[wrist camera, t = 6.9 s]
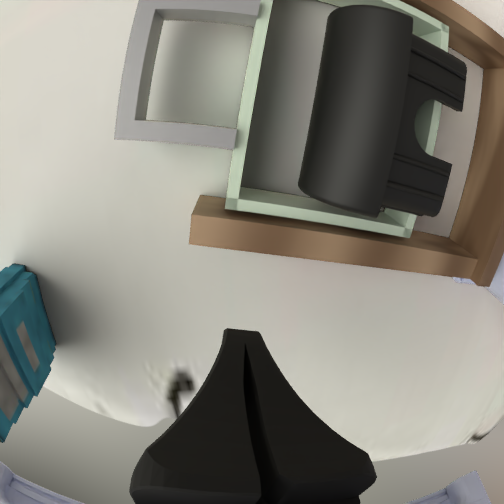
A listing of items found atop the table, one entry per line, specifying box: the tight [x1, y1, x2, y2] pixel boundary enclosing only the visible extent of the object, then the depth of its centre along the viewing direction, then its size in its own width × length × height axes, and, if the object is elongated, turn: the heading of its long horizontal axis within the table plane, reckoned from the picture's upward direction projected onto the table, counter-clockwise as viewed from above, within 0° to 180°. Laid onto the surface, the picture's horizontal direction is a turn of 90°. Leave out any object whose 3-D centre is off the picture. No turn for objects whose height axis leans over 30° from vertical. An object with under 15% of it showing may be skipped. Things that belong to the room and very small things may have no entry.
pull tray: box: [114, 0, 449, 238], centre depth 14 cm, size 17×14×4 cm
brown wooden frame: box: [189, 0, 504, 287], centre depth 14 cm, size 21×18×5 cm
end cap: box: [298, 5, 467, 218], centre depth 14 cm, size 10×7×7 cm
